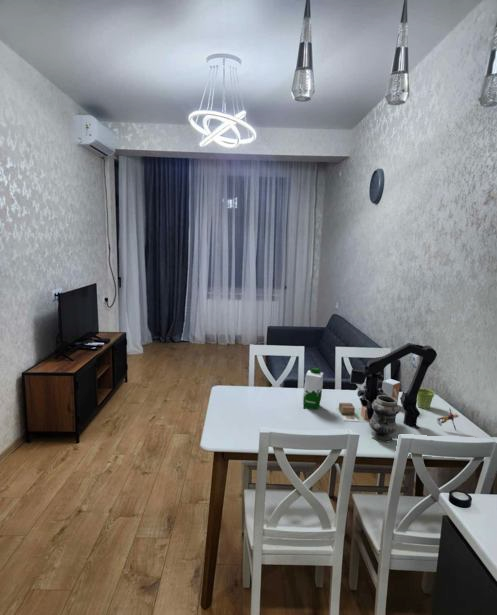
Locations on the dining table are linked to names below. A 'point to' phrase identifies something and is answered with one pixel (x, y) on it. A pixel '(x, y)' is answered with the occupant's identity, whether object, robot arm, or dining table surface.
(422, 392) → the plant pot
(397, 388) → the small box
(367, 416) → the pink knobbed block
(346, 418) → the board
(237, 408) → the dining table surface
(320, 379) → the milk carton
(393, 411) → the ornate grey vase
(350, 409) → the walnut brick
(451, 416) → the action figure
